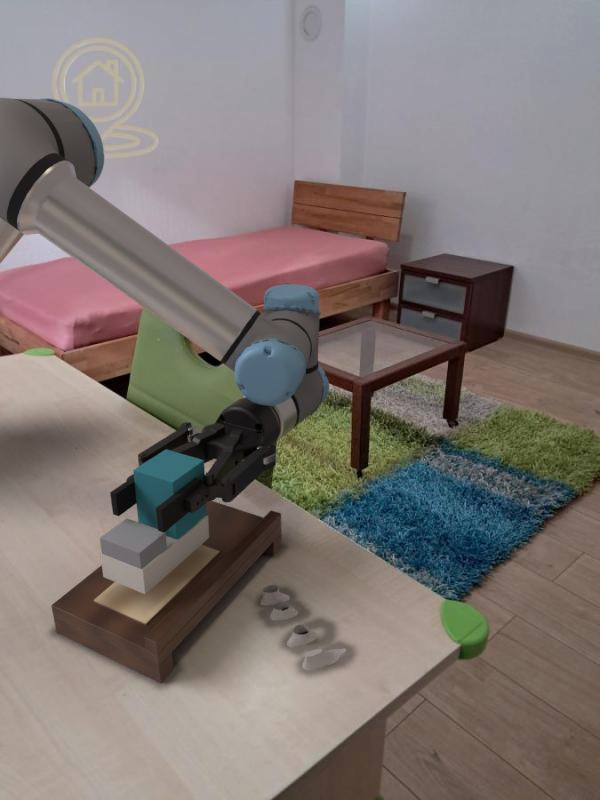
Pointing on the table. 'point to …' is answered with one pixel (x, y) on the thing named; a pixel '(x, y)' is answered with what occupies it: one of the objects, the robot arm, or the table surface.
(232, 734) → the table surface
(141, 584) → the stacked toy blocks
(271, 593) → the baby socks
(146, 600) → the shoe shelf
